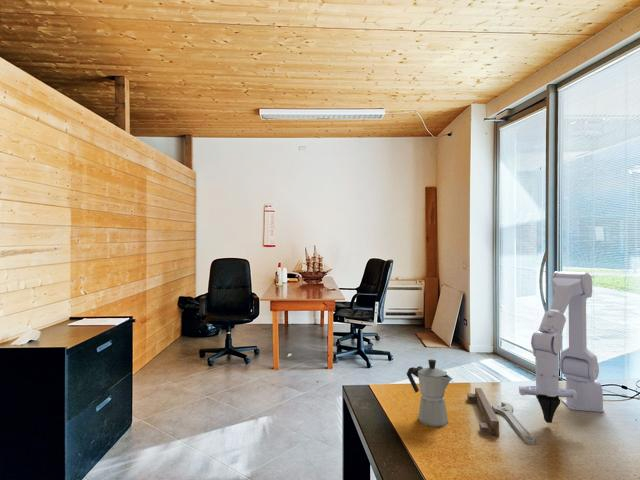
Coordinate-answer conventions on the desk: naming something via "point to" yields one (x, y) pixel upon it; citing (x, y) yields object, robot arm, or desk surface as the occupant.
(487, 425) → the walnut bar
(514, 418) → the adjustable wrench
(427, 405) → the coffee maker
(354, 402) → the desk surface
